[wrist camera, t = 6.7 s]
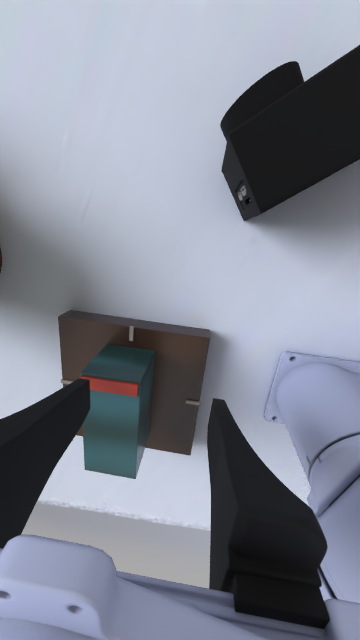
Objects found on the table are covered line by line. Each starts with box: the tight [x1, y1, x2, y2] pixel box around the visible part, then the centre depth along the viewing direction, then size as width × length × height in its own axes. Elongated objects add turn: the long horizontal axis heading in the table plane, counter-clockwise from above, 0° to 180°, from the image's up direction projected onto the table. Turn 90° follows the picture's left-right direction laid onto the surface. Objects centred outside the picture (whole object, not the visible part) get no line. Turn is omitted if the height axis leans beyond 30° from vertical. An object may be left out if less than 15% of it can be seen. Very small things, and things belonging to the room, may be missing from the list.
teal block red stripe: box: [80, 344, 155, 479], centre depth 21 cm, size 10×5×5 cm, turn 174°
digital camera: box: [220, 45, 360, 221], centre depth 14 cm, size 10×5×7 cm, turn 119°
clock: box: [58, 310, 210, 455], centre depth 25 cm, size 14×14×2 cm
